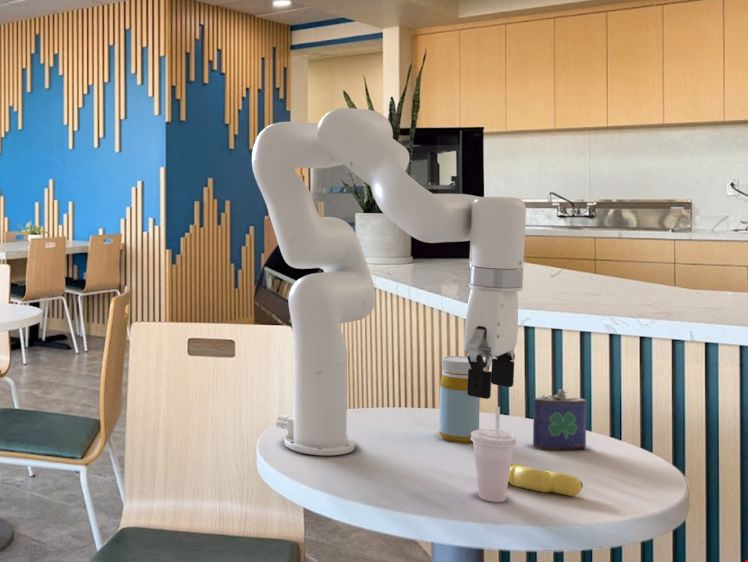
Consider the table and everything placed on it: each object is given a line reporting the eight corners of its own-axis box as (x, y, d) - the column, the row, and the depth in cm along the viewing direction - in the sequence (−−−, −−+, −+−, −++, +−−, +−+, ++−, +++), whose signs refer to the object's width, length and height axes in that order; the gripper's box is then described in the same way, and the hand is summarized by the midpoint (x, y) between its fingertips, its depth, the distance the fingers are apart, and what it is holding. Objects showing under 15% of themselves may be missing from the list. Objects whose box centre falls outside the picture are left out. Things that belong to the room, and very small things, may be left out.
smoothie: (511, 508, 127) (513, 414, 127) (465, 500, 131) (467, 408, 130) (518, 495, 133) (520, 404, 132) (474, 487, 136) (475, 399, 135)
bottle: (482, 436, 164) (483, 357, 164) (474, 445, 158) (475, 364, 158) (444, 430, 168) (445, 354, 167) (435, 439, 162) (436, 360, 161)
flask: (581, 445, 158) (583, 387, 158) (589, 450, 155) (590, 391, 155) (530, 445, 158) (531, 387, 158) (537, 450, 156) (538, 391, 155)
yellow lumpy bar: (480, 481, 139) (480, 461, 139) (489, 474, 142) (490, 455, 142) (576, 502, 130) (577, 481, 129) (584, 495, 133) (584, 474, 133)
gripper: (490, 272, 139) (486, 377, 140) (448, 281, 126) (443, 397, 127) (540, 276, 134) (535, 385, 135) (501, 286, 121) (495, 406, 122)
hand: (490, 391), depth 131 cm, fingers open, 9 cm apart
